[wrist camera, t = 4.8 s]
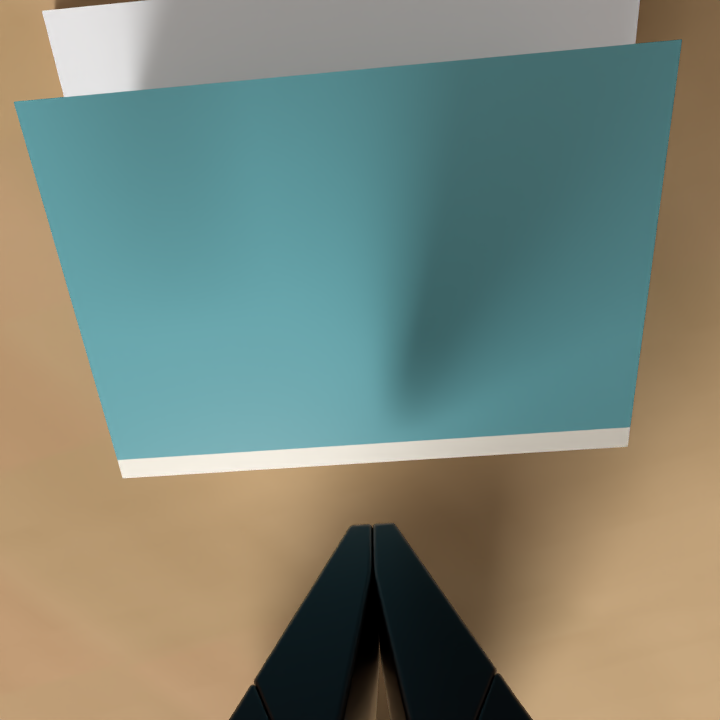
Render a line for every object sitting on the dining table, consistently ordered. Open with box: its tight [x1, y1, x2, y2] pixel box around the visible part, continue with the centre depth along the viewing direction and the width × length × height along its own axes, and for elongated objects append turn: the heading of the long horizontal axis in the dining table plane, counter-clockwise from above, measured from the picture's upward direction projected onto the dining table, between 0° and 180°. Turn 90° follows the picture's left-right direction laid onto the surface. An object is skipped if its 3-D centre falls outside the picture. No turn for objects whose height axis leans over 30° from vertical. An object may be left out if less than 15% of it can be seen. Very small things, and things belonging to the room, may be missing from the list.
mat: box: [42, 0, 640, 97], centre depth 12 cm, size 10×15×1 cm, turn 95°
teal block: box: [14, 39, 682, 478], centre depth 11 cm, size 4×12×8 cm
